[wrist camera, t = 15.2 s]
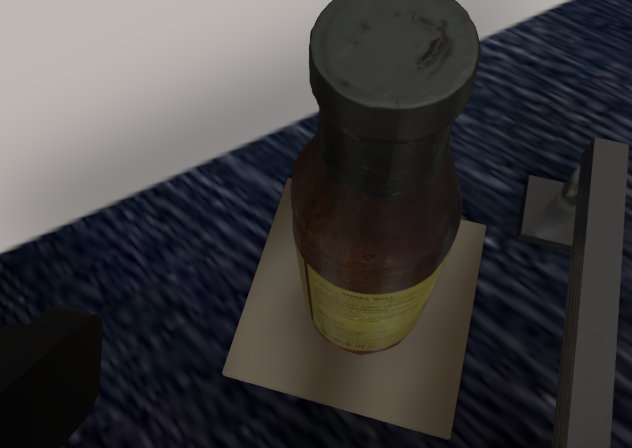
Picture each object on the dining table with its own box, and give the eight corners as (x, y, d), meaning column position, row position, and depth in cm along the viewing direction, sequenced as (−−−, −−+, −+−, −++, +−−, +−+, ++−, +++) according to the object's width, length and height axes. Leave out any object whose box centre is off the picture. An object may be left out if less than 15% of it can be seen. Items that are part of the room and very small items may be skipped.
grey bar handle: (591, 196, 34) (655, 129, 28) (559, 564, 26) (636, 593, 20) (525, 181, 35) (572, 112, 28) (473, 537, 27) (522, 557, 20)
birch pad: (482, 230, 33) (486, 225, 33) (447, 439, 29) (450, 438, 28) (288, 184, 35) (288, 177, 34) (224, 375, 30) (221, 373, 29)
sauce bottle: (441, 322, 30) (615, 97, 12) (340, 381, 29) (368, 227, 11) (376, 225, 33) (442, -84, 15) (281, 276, 32) (224, 8, 13)
